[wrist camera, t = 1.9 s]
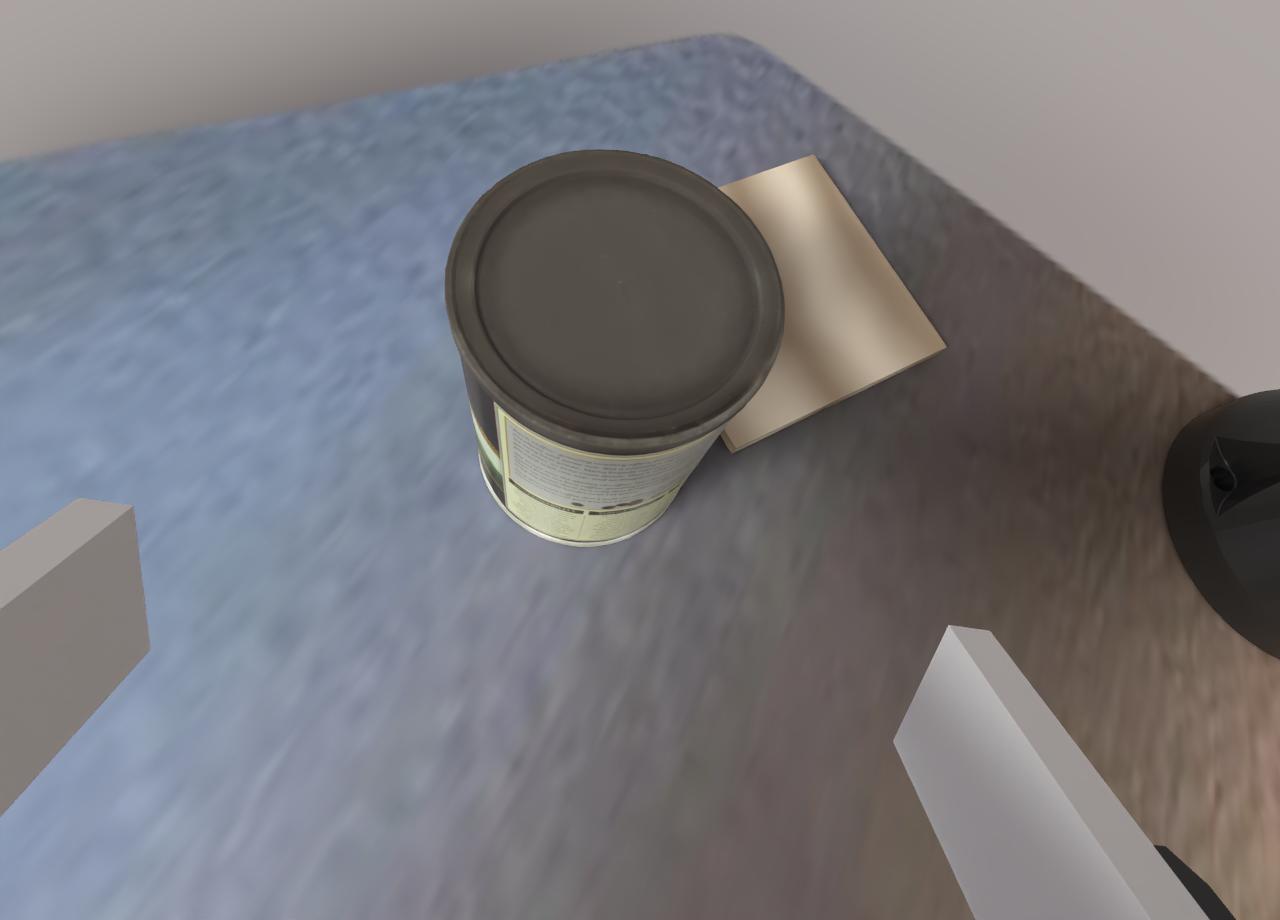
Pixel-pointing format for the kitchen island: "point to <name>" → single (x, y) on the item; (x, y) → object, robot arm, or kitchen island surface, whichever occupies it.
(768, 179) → the birch board
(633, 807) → the kitchen island surface
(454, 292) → the coffee can
